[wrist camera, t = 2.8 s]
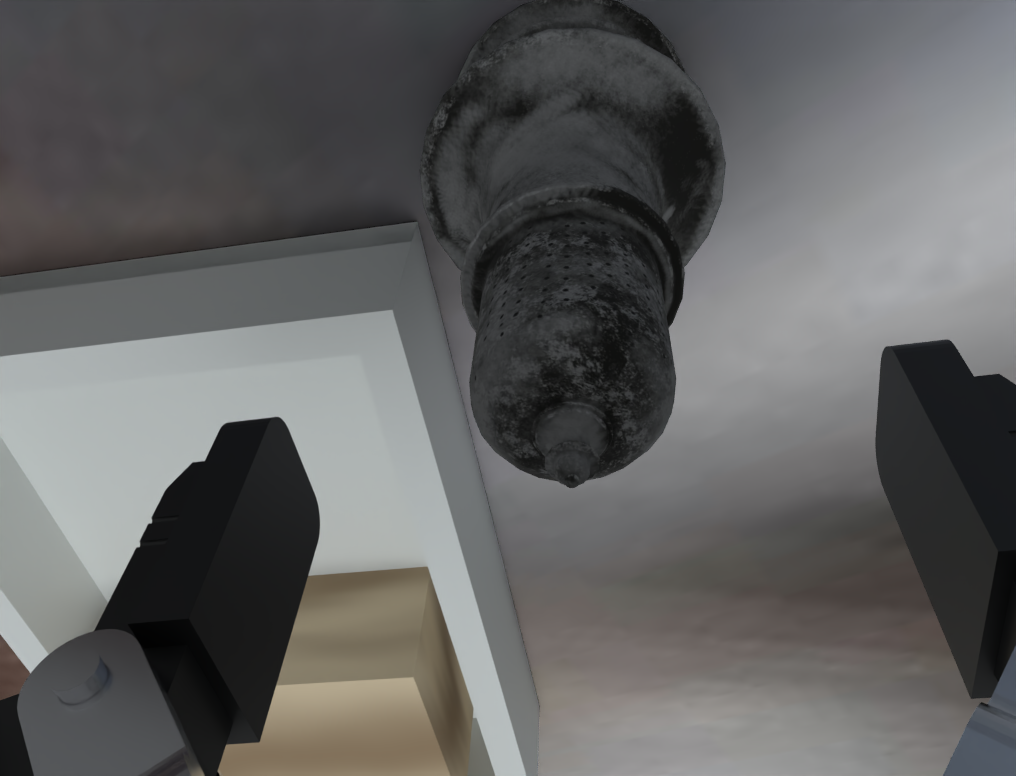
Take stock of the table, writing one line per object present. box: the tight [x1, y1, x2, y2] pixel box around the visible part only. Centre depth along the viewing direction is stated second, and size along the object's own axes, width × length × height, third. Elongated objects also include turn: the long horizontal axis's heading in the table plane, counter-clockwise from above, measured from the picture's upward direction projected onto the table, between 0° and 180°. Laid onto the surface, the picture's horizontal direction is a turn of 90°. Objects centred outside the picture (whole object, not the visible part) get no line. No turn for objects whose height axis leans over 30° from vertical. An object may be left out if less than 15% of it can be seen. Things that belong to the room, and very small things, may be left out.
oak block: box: [218, 567, 474, 776], centre depth 30 cm, size 7×10×4 cm
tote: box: [0, 222, 540, 776], centre depth 28 cm, size 20×14×4 cm
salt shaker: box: [420, 0, 726, 488], centre depth 16 cm, size 6×6×12 cm
